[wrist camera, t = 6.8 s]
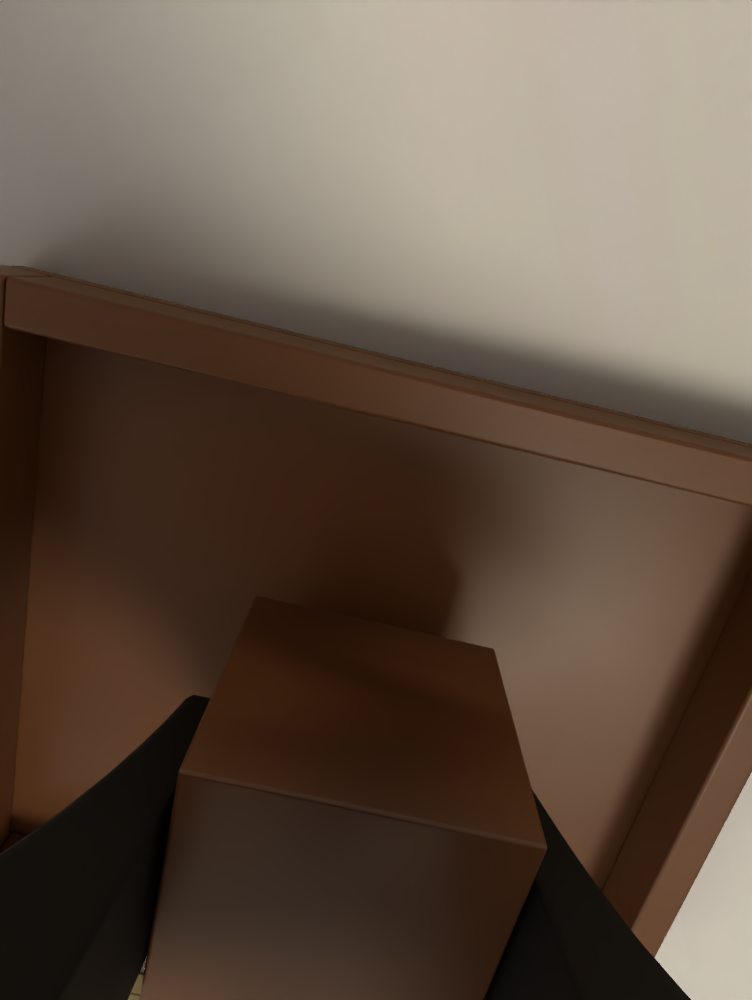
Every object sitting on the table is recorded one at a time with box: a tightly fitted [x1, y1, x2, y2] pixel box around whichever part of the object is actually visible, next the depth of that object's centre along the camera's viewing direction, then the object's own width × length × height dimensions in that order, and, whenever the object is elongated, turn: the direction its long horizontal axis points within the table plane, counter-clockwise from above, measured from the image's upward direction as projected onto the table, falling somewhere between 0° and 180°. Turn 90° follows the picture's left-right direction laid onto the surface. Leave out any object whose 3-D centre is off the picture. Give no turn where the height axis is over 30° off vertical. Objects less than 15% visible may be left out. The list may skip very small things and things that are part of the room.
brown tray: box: [0, 265, 752, 957], centre depth 14 cm, size 16×14×2 cm
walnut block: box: [139, 596, 547, 1000], centre depth 11 cm, size 4×4×4 cm
